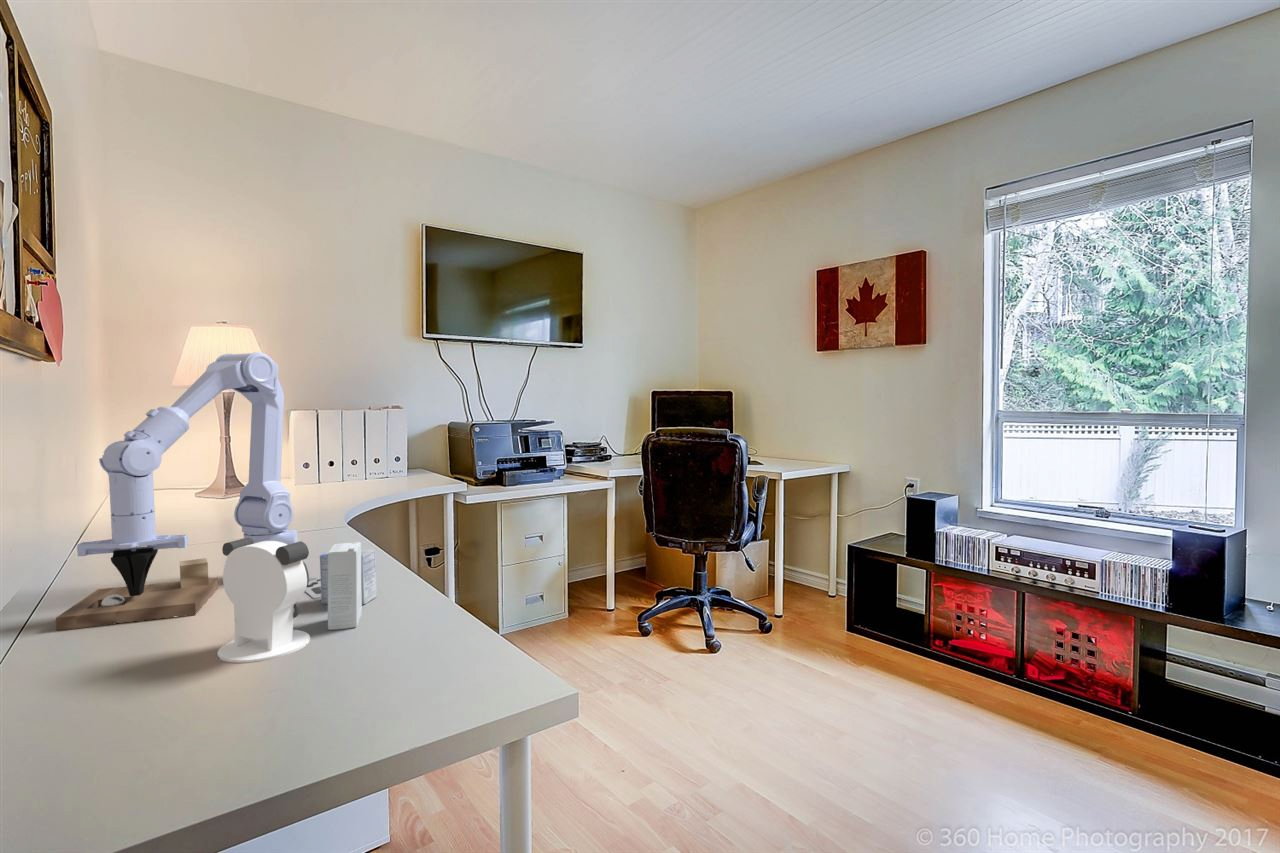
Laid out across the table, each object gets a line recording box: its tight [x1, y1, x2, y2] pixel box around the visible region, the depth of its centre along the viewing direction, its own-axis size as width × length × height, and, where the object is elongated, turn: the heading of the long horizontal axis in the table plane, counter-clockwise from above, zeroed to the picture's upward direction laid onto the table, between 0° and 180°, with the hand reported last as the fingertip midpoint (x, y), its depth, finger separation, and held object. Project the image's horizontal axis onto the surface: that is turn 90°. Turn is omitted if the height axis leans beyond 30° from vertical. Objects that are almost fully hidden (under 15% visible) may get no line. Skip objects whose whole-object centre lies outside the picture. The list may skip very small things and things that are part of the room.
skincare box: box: [327, 541, 363, 631], centre depth 101 cm, size 6×4×12 cm
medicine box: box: [319, 548, 378, 605], centre depth 112 cm, size 8×4×9 cm, turn 84°
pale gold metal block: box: [179, 557, 209, 589], centre depth 116 cm, size 4×4×4 cm
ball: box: [101, 594, 126, 607], centre depth 106 cm, size 3×3×3 cm
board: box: [55, 577, 219, 632], centre depth 109 cm, size 18×16×2 cm
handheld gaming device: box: [304, 575, 321, 600], centre depth 122 cm, size 9×1×15 cm
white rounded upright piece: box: [217, 537, 311, 664], centre depth 91 cm, size 12×11×15 cm
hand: (136, 594), depth 107 cm, fingers closed
